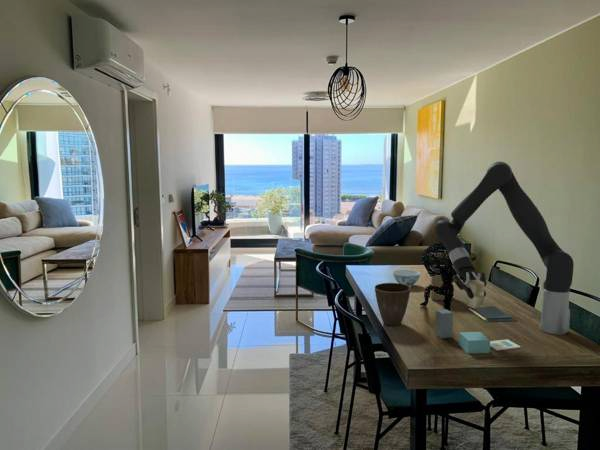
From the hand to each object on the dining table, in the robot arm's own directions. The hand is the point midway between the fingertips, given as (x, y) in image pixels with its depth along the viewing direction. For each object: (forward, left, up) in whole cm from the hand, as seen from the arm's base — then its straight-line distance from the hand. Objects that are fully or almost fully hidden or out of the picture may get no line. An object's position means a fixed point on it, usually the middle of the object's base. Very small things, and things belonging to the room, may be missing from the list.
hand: (478, 297), depth 170 cm
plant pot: (+26, -22, -16) cm, 38 cm away
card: (-4, +10, -16) cm, 19 cm away
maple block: (0, -2, -4) cm, 5 cm away
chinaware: (-8, -77, -16) cm, 79 cm away
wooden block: (-14, -50, -16) cm, 54 cm away
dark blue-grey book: (-22, -22, -17) cm, 35 cm away
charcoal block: (+12, -4, -16) cm, 20 cm away
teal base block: (+8, +10, -16) cm, 21 cm away
